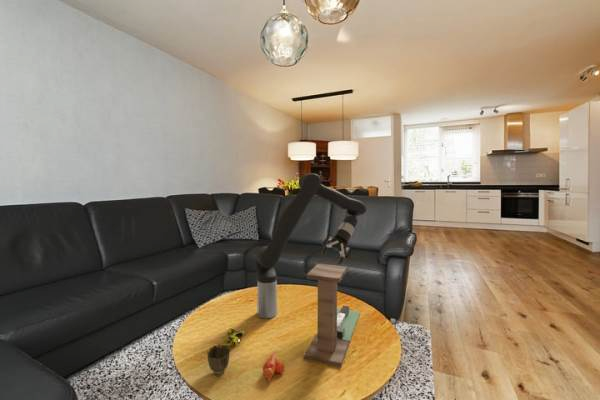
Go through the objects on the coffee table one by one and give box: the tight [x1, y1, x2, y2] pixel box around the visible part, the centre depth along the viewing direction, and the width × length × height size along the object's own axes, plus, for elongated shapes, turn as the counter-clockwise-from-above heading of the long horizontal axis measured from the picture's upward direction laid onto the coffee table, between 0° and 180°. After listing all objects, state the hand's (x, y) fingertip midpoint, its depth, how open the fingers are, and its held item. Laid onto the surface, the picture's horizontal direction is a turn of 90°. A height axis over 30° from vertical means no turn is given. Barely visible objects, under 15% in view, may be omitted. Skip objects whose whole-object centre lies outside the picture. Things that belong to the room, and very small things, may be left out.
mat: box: [316, 307, 361, 344], centre depth 131 cm, size 27×14×1 cm, turn 159°
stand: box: [303, 263, 350, 368], centre depth 109 cm, size 14×14×32 cm
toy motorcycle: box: [221, 327, 245, 347], centre depth 117 cm, size 12×4×7 cm
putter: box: [337, 305, 350, 339], centre depth 130 cm, size 24×8×3 cm, turn 158°
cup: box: [206, 344, 231, 376], centre depth 98 cm, size 8×7×8 cm
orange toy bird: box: [262, 350, 286, 382], centre depth 99 cm, size 5×8×12 cm
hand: (330, 259), depth 139 cm, fingers open, 8 cm apart
